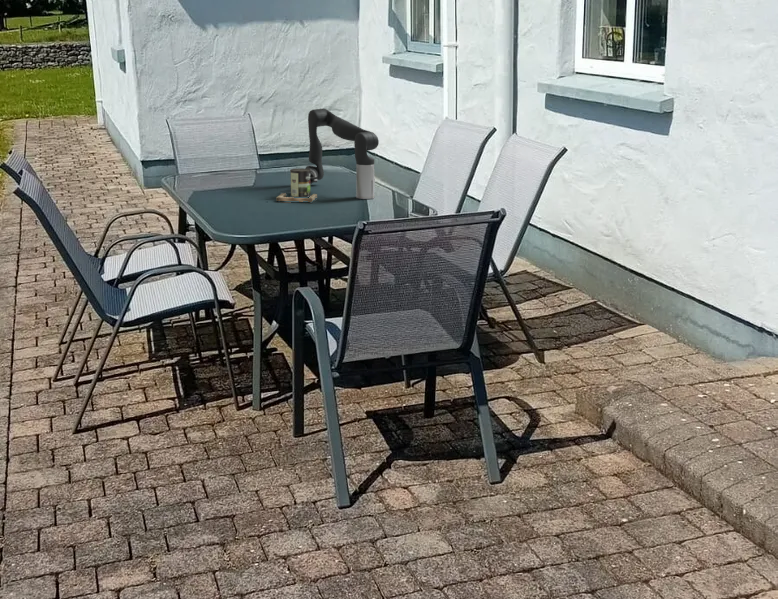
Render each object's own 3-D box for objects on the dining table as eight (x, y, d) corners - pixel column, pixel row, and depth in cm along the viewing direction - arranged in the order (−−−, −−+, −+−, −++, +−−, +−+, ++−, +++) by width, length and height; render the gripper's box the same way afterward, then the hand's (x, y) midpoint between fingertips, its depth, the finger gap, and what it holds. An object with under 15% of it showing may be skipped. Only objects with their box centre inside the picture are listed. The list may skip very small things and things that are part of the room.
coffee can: (313, 195, 507) (312, 168, 504) (307, 199, 498) (307, 171, 494) (293, 195, 509) (293, 167, 506) (288, 198, 500) (287, 170, 496)
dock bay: (316, 198, 500) (316, 194, 499) (312, 203, 486) (312, 198, 486) (282, 197, 502) (282, 193, 501) (276, 202, 488) (276, 197, 488)
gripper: (296, 169, 523) (289, 174, 506) (320, 170, 522) (315, 174, 505) (296, 183, 525) (289, 188, 508) (320, 184, 524) (315, 189, 507)
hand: (302, 181), depth 507 cm, fingers closed
